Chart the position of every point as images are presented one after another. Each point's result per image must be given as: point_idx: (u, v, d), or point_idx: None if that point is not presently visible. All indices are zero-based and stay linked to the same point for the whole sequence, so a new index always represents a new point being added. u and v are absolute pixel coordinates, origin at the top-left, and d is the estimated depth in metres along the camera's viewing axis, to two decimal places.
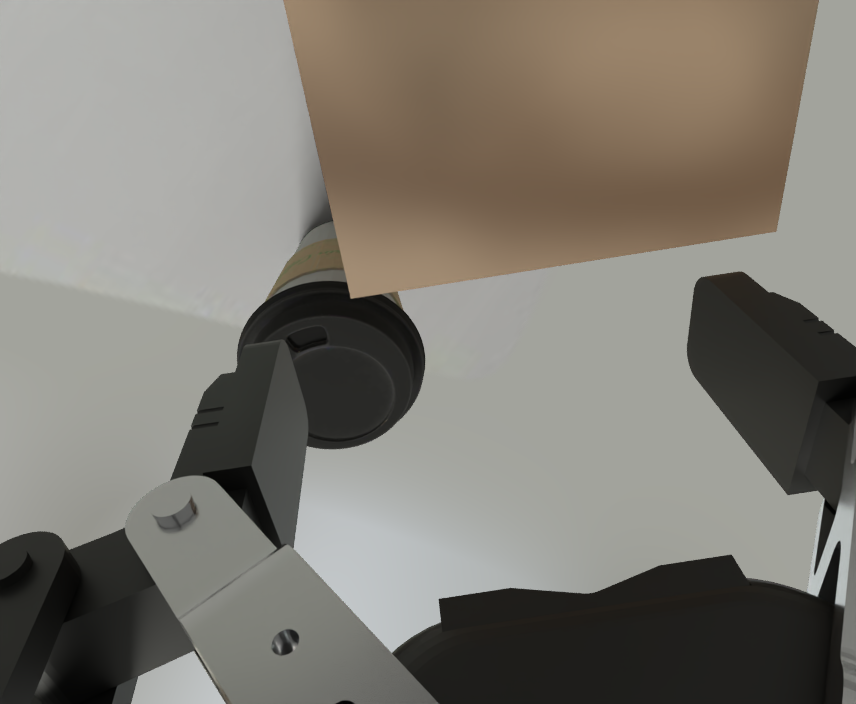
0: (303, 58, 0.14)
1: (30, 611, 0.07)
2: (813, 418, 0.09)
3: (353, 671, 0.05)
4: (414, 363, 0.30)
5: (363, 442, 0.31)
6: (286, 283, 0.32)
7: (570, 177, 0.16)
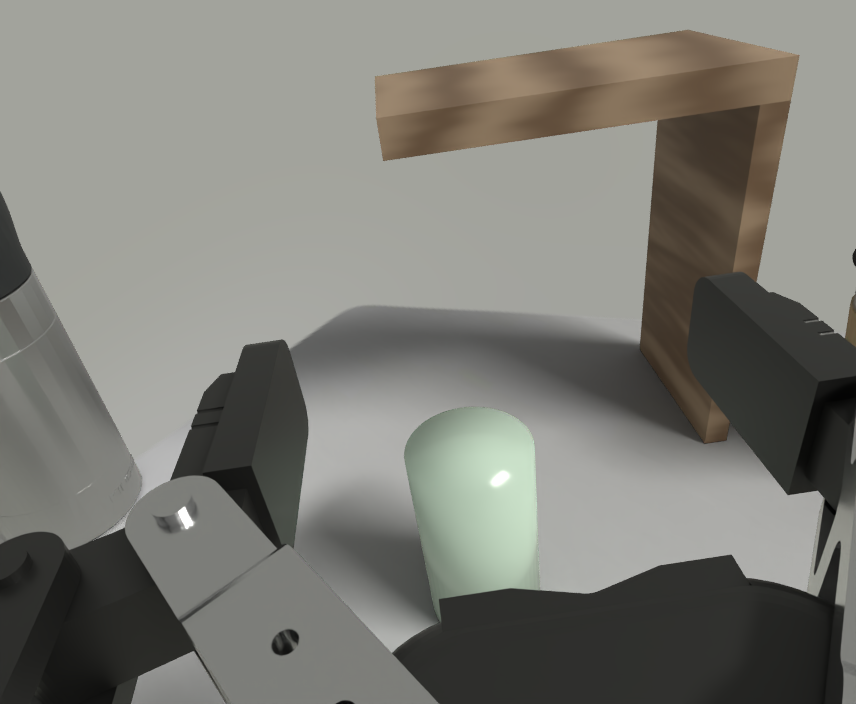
0: (668, 74, 0.29)
1: (30, 611, 0.07)
2: (813, 418, 0.09)
3: (354, 671, 0.05)
4: None
5: None
6: None
7: (689, 46, 0.34)
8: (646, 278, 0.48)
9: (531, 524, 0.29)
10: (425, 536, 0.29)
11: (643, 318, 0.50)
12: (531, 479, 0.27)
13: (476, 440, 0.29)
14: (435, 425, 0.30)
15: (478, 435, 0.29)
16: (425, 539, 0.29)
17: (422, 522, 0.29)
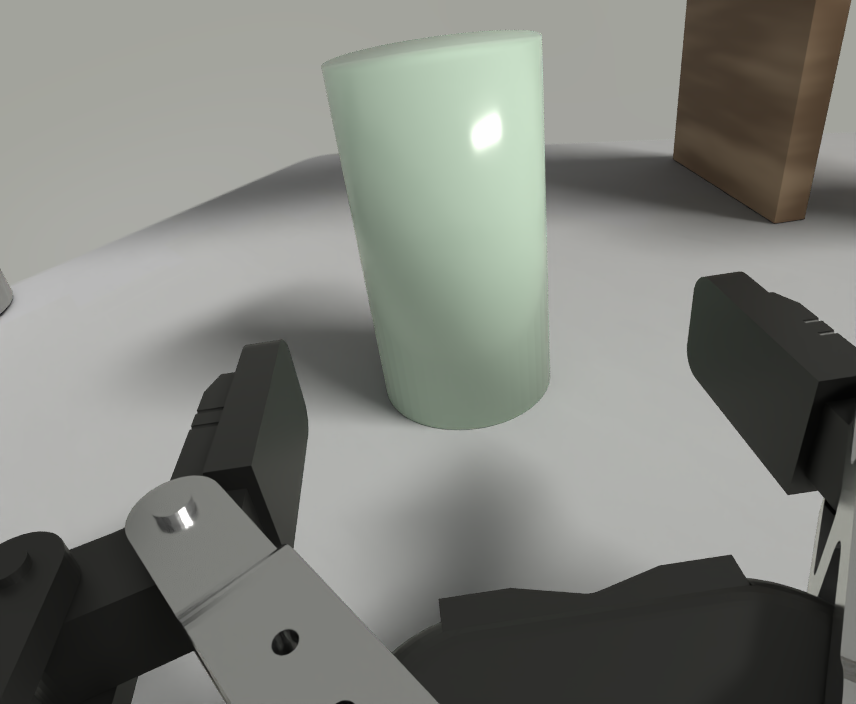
0: None
1: (30, 611, 0.07)
2: (813, 418, 0.09)
3: (354, 671, 0.05)
4: None
5: None
6: None
7: None
8: (683, 47, 0.37)
9: (536, 188, 0.17)
10: (360, 215, 0.18)
11: (679, 109, 0.38)
12: (536, 82, 0.16)
13: (444, 45, 0.17)
14: (379, 48, 0.18)
15: (448, 43, 0.17)
16: (361, 223, 0.18)
17: (353, 182, 0.17)
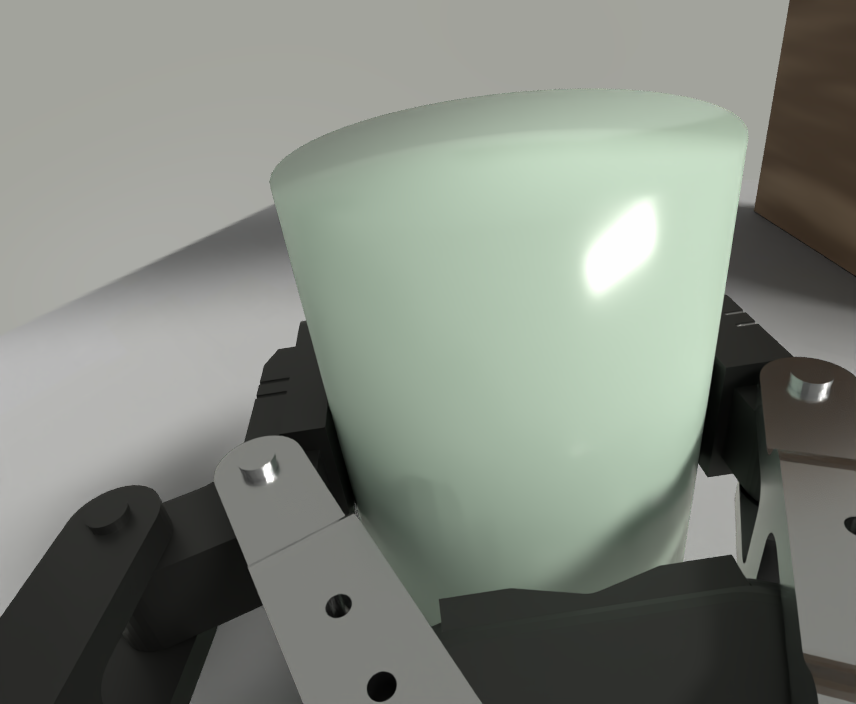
0: None
1: (136, 553, 0.07)
2: (724, 403, 0.09)
3: (398, 645, 0.05)
4: None
5: None
6: None
7: None
8: (779, 71, 0.28)
9: (704, 413, 0.09)
10: (352, 457, 0.09)
11: (767, 150, 0.30)
12: (734, 223, 0.07)
13: (522, 128, 0.08)
14: (389, 122, 0.10)
15: (525, 121, 0.09)
16: (354, 468, 0.09)
17: (338, 404, 0.08)
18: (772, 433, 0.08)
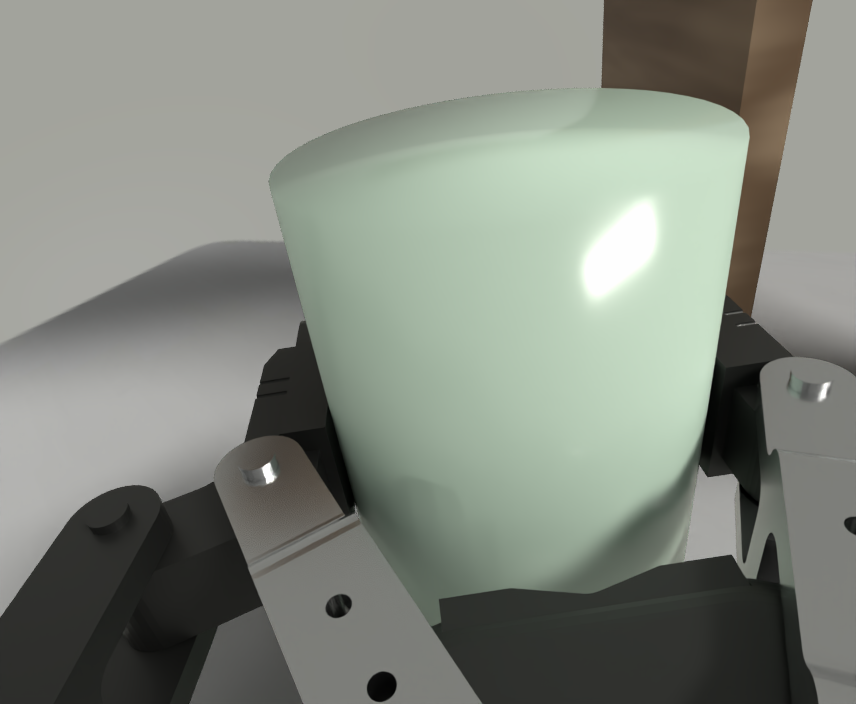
0: None
1: (137, 554, 0.07)
2: (724, 403, 0.09)
3: (397, 645, 0.05)
4: None
5: None
6: None
7: None
8: None
9: (705, 413, 0.09)
10: (352, 457, 0.09)
11: None
12: (735, 223, 0.07)
13: (522, 127, 0.08)
14: (389, 123, 0.10)
15: (526, 120, 0.09)
16: (354, 469, 0.09)
17: (338, 405, 0.08)
18: (772, 433, 0.08)
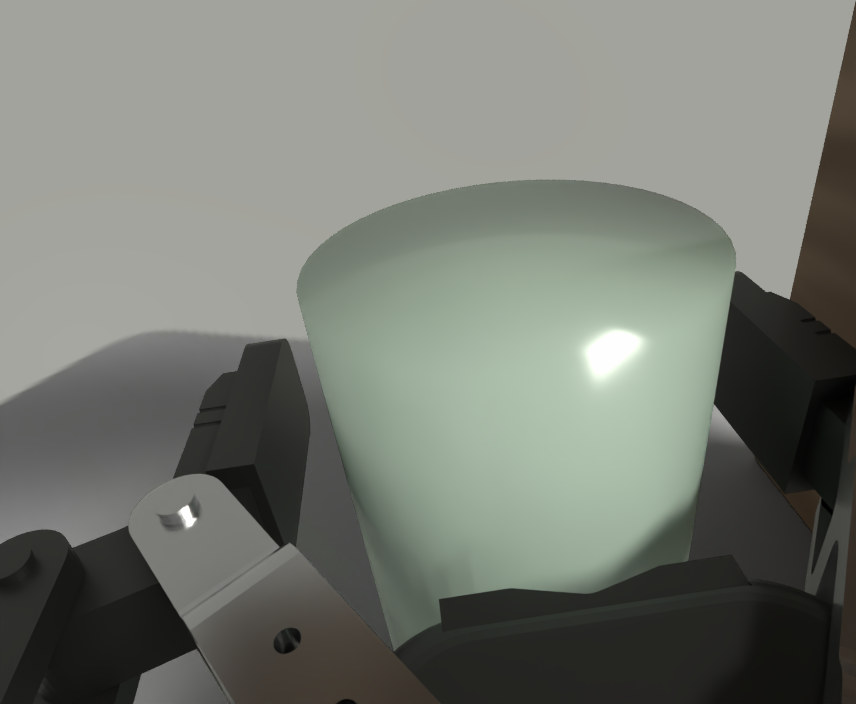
0: None
1: (35, 608, 0.07)
2: (810, 417, 0.09)
3: (355, 670, 0.05)
4: None
5: None
6: None
7: None
8: (800, 269, 0.16)
9: (697, 497, 0.09)
10: (370, 534, 0.10)
11: None
12: (723, 337, 0.08)
13: (528, 234, 0.09)
14: (404, 216, 0.10)
15: (531, 224, 0.09)
16: (372, 543, 0.10)
17: (358, 490, 0.09)
18: None
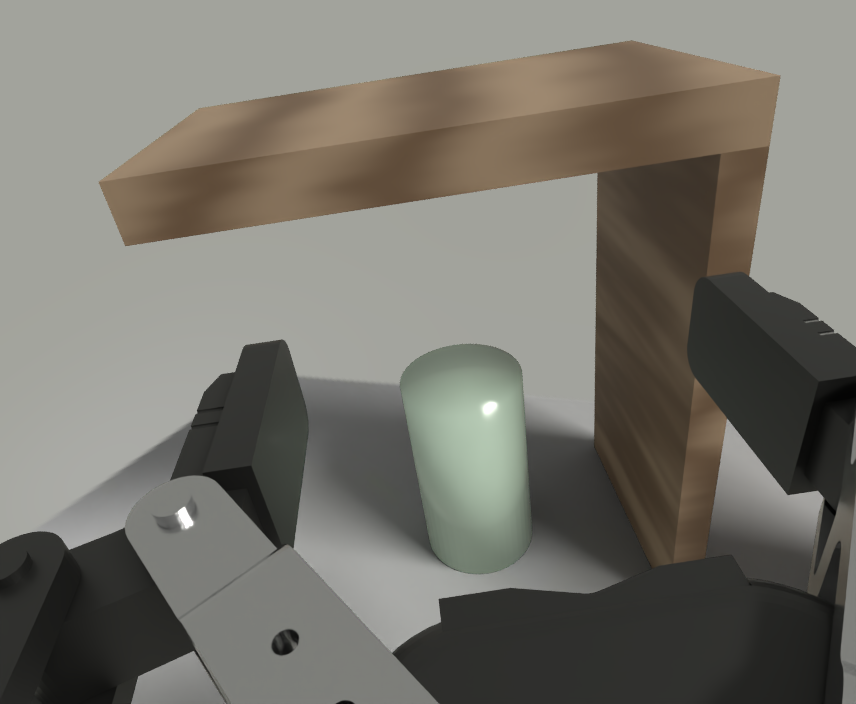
0: None
1: (30, 611, 0.07)
2: (813, 418, 0.09)
3: (353, 671, 0.05)
4: None
5: None
6: None
7: (622, 63, 0.23)
8: (596, 362, 0.37)
9: (520, 450, 0.30)
10: (420, 462, 0.31)
11: (595, 410, 0.39)
12: (519, 403, 0.29)
13: (468, 370, 0.30)
14: (430, 359, 0.32)
15: (469, 365, 0.31)
16: (420, 465, 0.31)
17: (417, 447, 0.30)
18: None
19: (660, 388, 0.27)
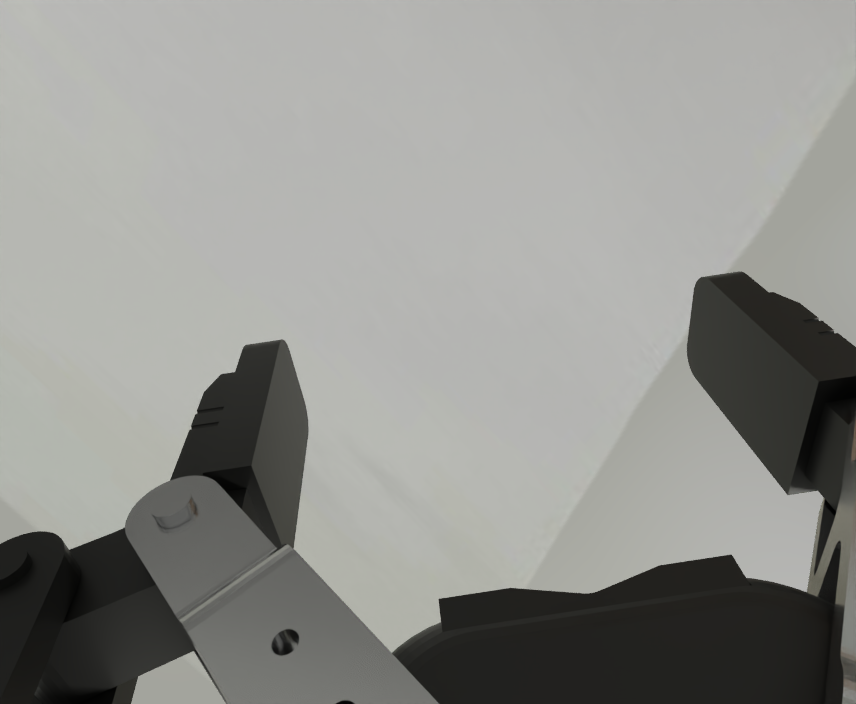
0: None
1: (30, 611, 0.07)
2: (813, 418, 0.09)
3: (353, 671, 0.05)
4: None
5: None
6: None
7: None
8: None
9: None
10: None
11: None
12: None
13: None
14: None
15: None
16: None
17: None
18: None
19: None
